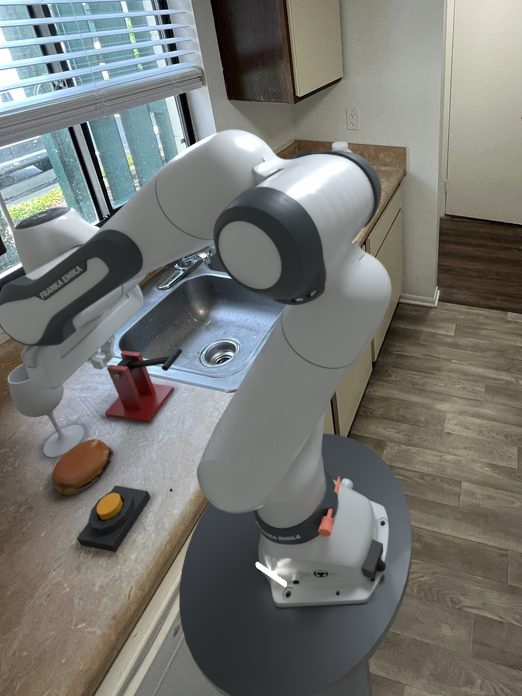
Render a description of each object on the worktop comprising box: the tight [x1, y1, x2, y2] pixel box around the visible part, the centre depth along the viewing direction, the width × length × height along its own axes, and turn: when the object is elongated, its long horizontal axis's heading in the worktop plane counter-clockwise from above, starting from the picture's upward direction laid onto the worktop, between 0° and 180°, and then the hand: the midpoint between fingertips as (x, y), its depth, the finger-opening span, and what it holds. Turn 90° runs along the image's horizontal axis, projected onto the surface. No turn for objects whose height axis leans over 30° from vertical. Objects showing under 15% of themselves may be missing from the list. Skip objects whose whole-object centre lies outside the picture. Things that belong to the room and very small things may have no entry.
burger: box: [51, 438, 114, 496], centre depth 87 cm, size 10×9×5 cm
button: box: [97, 493, 123, 520], centre depth 78 cm, size 4×4×2 cm
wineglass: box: [7, 363, 85, 458], centre depth 90 cm, size 8×8×21 cm
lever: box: [116, 347, 183, 373], centre depth 96 cm, size 15×5×2 cm, turn 80°
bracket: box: [104, 350, 175, 424], centre depth 100 cm, size 11×9×14 cm
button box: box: [76, 484, 151, 553], centre depth 79 cm, size 7×9×4 cm
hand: (105, 362), depth 77 cm, fingers closed
